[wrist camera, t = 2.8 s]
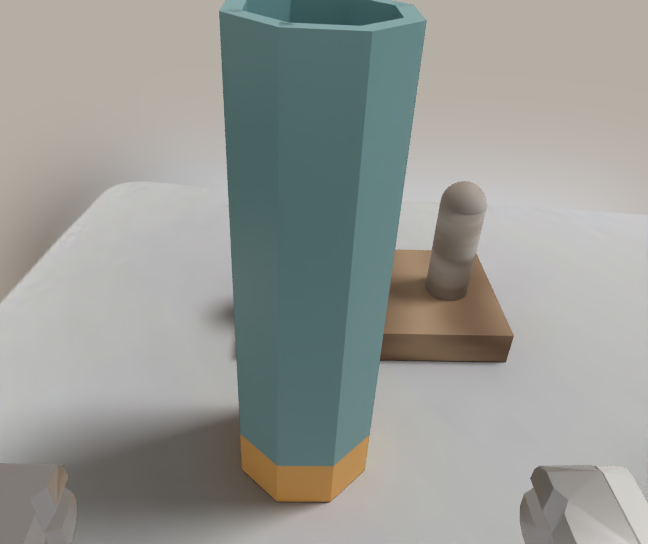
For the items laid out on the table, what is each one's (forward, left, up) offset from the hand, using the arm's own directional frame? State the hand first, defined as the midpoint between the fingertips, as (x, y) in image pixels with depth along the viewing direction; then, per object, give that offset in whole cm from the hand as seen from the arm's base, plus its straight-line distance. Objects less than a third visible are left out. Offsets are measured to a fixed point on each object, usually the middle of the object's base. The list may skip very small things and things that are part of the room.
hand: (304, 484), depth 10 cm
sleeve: (-3, -12, -14) cm, 19 cm away
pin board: (-9, -22, -14) cm, 28 cm away
